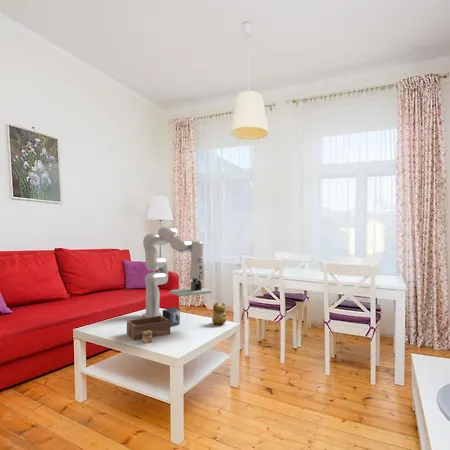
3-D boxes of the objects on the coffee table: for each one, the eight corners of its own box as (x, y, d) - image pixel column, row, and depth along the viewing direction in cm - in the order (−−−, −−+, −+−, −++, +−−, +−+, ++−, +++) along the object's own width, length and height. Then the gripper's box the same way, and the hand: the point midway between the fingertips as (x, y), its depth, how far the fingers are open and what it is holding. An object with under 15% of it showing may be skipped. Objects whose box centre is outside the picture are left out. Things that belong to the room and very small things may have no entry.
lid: (170, 292, 204) (170, 282, 204) (200, 289, 216) (200, 279, 216) (179, 296, 192) (180, 285, 192) (211, 293, 204) (211, 282, 205)
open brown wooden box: (126, 333, 194) (126, 320, 194) (160, 327, 206) (161, 315, 206) (134, 340, 182) (134, 326, 182) (170, 333, 195) (170, 320, 195)
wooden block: (149, 340, 183) (149, 329, 183) (152, 342, 180) (152, 331, 180) (142, 341, 181) (142, 331, 181) (145, 344, 177) (145, 333, 177)
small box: (168, 328, 206) (168, 311, 206) (161, 326, 210) (161, 310, 210) (180, 324, 215) (180, 308, 215) (173, 322, 219) (173, 307, 219)
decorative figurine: (226, 322, 219) (227, 300, 220) (225, 326, 211) (225, 303, 211) (212, 322, 221) (213, 300, 221) (210, 325, 212) (211, 303, 213)
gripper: (208, 261, 202) (208, 290, 202) (195, 259, 216) (195, 286, 215) (198, 262, 198) (197, 292, 197) (185, 259, 211) (185, 287, 211)
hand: (196, 289), depth 206 cm, fingers closed on lid, 3 cm apart
